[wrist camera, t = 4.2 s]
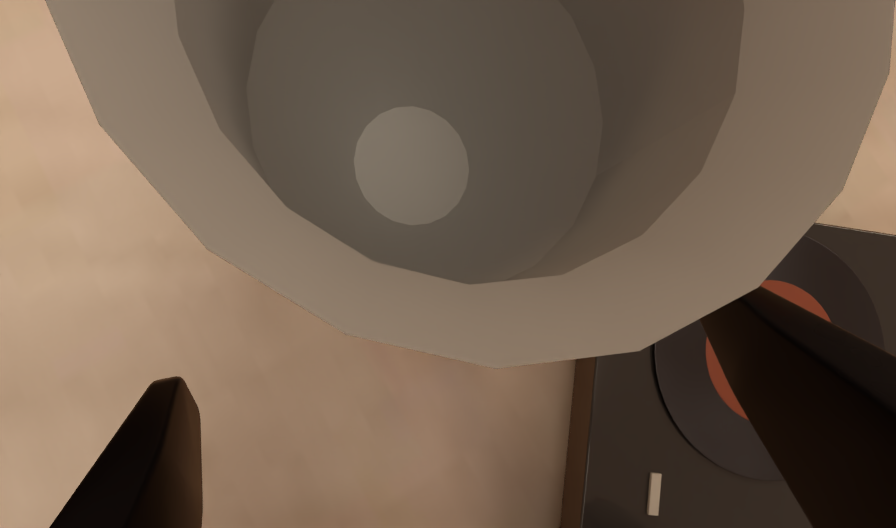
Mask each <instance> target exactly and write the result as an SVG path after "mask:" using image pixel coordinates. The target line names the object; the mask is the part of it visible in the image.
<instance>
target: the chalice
mask: <svg viewBox="0 0 896 528" xmlns="http://www.w3.org/2000/svg"><path fill="white" fill-rule="evenodd" d="M45 1H46V3H47V6H48V8H49V10H50V12H51V15H52V17H53V19H54V22H55V24H56V26H57V29H58V31H59V33H60V35H61V38H62V40H63V42H64V45H65V47H66V49H67V51H68V54H69V56H70V58H71V61H72V63H73V65H74V67H75V70H76V72H77V74H78V77H79V79H80V81H81V84H82V86H83V88H84V90H85V93H86V95H87V97H88V100H89V102H90V104H91V106H92V109H93V111H94V113H95V116H96V118H97V120H98V122H99V125H100V126H101V127H102V128H103V129H104V130H105V132H106V133H107V134H108V135H109V136H110V137H111V139H112V140H113V141H114V142H115V143H116V144H117V145H118V147H119V148H120V149H121V150H122V151H123V152H124V154H125V155H126V156H127V157H128V158H129V159H130V161H131V162H132V163H133V164H134V165H135V166H136V167H137V169H138V170H139V171H140V172H141V173H142V174H143V176H144V177H145V178H146V179H147V180H148V181H149V183H150V184H151V185H152V186H153V187H154V188H155V189H156V191H157V192H158V193H159V194H160V195H161V196H162V198H163V199H164V200H165V201H166V202H167V203H168V204H169V206H170V207H171V208H172V209H173V210H174V211H175V213H176V214H177V215H178V216H179V217H180V218H181V220H182V221H183V222H184V223H185V224H186V225H187V226H188V228H189V229H190V230H191V231H192V232H193V233H194V235H195V236H196V237H197V238H198V239H199V240H200V242H201V243H202V244H203V245H204V246H205V247H206V248H207V250H209V251H211V252H212V253H214V254H216V255H217V256H219V257H220V258H222V259H224V260H225V261H227V262H229V263H230V264H232V265H233V266H235V267H237V268H238V269H240V270H242V271H243V272H245V273H246V274H248V275H250V276H251V277H253V278H255V279H256V280H258V281H260V282H261V283H263V284H264V285H266V286H268V287H269V288H271V289H273V290H274V291H276V292H277V293H279V294H281V295H282V296H284V297H286V298H287V299H289V300H290V301H292V302H294V303H295V304H297V305H299V306H300V307H302V308H303V309H305V310H307V311H308V312H310V313H312V314H313V315H315V316H316V317H318V318H320V319H321V320H323V321H325V322H326V323H328V324H329V325H331V326H333V327H334V328H336V329H338V330H339V331H341V332H343V333H344V334H346V335H350V336H355V337H359V338H363V339H368V340H372V341H376V342H381V343H385V344H389V345H394V346H398V347H403V348H407V349H411V350H416V351H420V352H424V353H429V354H433V355H437V356H442V357H446V358H451V359H455V360H459V361H464V362H468V363H472V364H477V365H481V366H485V367H490V368H494V369H500V368H508V367H516V366H524V365H532V364H540V363H548V362H556V361H564V360H572V359H580V358H588V357H596V356H604V355H612V354H620V353H628V352H636V351H640V350H642V349H644V348H646V347H648V346H650V345H652V344H653V343H655V342H657V341H659V340H661V339H663V338H665V337H666V336H668V335H670V334H672V333H674V332H676V331H678V330H679V329H681V328H683V327H685V326H687V325H689V324H691V323H693V322H694V321H696V320H698V319H700V318H702V317H704V316H706V315H707V314H709V313H711V312H713V311H715V310H717V309H719V308H721V307H722V306H724V305H726V304H728V303H730V302H732V301H734V300H735V299H737V298H739V297H741V296H743V295H745V294H747V293H748V292H750V291H752V290H754V289H756V288H758V287H759V286H760V285H761V283H762V282H763V281H764V280H765V279H766V278H767V277H768V275H769V274H770V273H771V272H772V271H773V270H774V269H775V267H776V266H777V265H778V264H779V263H780V262H781V260H782V259H783V258H784V257H785V256H786V255H787V254H788V252H789V251H790V250H791V249H792V248H793V247H794V245H795V244H796V243H797V242H798V241H799V240H800V239H801V237H802V236H803V235H804V234H805V233H806V232H807V231H808V229H809V228H810V227H811V226H812V225H813V224H814V222H815V221H816V220H817V219H818V218H819V217H820V216H821V214H822V213H823V212H824V211H825V210H826V209H827V207H828V206H829V205H830V204H831V203H832V202H833V201H834V199H835V198H836V197H837V196H838V195H839V194H840V193H841V191H842V190H843V188H844V186H845V183H846V180H847V178H848V175H849V173H850V170H851V168H852V165H853V163H854V160H855V158H856V155H857V153H858V150H859V148H860V145H861V143H862V140H863V138H864V135H865V133H866V130H867V128H868V125H869V123H870V120H871V118H872V115H873V113H874V110H875V107H876V105H877V102H878V100H879V97H880V95H881V92H882V90H883V87H884V85H885V82H886V80H887V77H888V75H889V71H890V58H891V45H892V32H893V19H894V7H895V0H45Z"/></svg>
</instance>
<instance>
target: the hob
mask: <svg viewBox="0 0 896 528" xmlns="http://www.w3.org/2000/svg"><path fill="white" fill-rule="evenodd" d="M804 236H806V237H809V238H811V239H813V240H815V241H817V242H819V243H821V244H822V245H824V246H825V247H827V248H828V249H830V250H831V251H833V252H834V253H835V254H837V255H838V256H839V257H840V258H841V259H842V260H843V261H844V262H845V263H846V264H847V265H848V266H849V267H850V268H851V269H852V270H853V272H854V273H855V274H856V275H857V276H858V278H859V279H860V281H861V282H862V284H863V285H864V287H865V288H866V290H867V292H868V294H869V296H870V298H871V300H872V302H873V304H874V306H875V309H876V312H877V314H878V317H879V321H880V325H881V329H882V333H883V340H884V347H885V351H887V352H889V353H891V354H893V355H895V356H896V235H892V234H886V233H879V232H873V231H866V230H860V229H853V228H846V227H840V226H833V225H827V224H820V223H814V224H813V225H812V226H811V227H810V228H809V229H808V231H807V232H806V233H805V234H804ZM652 347H653V344H652V345H650V346H648V347H646V348H644V349H642V350H640V351H636V352H628V353H620V354H612V355H604V356H596V357H588V358H580V359H576V367H575V378H574V388H573V398H572V409H571V419H570V429H569V440H568V450H567V461H566V471H565V481H564V492H563V502H562V512H561V523H560V528H813V527H812V525H811V524H810V522H809V520H808V519H807V517H806V515H805V514H804V512H803V510H802V509H801V507H800V505H799V504H798V502H797V500H796V499H795V497H794V495H793V493H792V492H791V490H790V488H789V487H788V485H787V483H786V482H785V480H783V481H763V480H757V479H751V478H747V477H744V476H741V475H738V474H734V473H732V472H730V471H728V470H726V469H724V468H722V467H719V466H717V465H716V464H714V463H713V462H711V461H710V460H708V459H707V458H705V457H704V456H703V455H701V454H700V453H699V452H698V451H697V450H696V449H695V448H693V447H692V446H691V445H690V443H689V442H688V441H687V440H686V439H685V438H684V437H683V436H682V434H681V433H680V432H679V430H678V429H677V427H676V426H675V424H674V423H673V421H672V420H671V418H670V416H669V414H668V412H667V410H666V408H665V406H664V404H663V401H662V399H661V396H660V393H659V390H658V387H657V383H656V378H655V374H654V367H653V357H652Z"/></svg>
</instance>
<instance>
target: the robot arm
mask: <svg viewBox="0 0 896 528" xmlns="http://www.w3.org/2000/svg"><path fill="white" fill-rule="evenodd" d="M700 322H701V324H702V327H703V329H704V331H705V333H706V335H707V338H708V340H709V342H710V344H711V346H712V349H713V351H714V353H715V355H716V357H717V359H718V362H719V364H720V366H721V368H722V370H723V373H724V375H725V377H726V379H727V381H728V383H729V385H730V387H731V389H732V391H733V393H734V395H735V397H736V399H737V401H738V402H739V404H740V406H741V408H742V409H743V411H744V413H745V414H746V416H747V418H748V419H749V421H750V423H751V424H752V426H753V428H754V429H755V431H756V433H757V435H758V436H759V438H760V440H761V441H762V443H763V445H764V446H765V448H766V450H767V451H768V453H769V455H770V456H771V458H772V460H773V461H774V463H775V465H776V467H777V468H778V470H779V472H780V473H781V475H782V477H783V478H784V480H785V482H786V483H787V485H788V487H789V488H790V490H791V492H792V493H793V495H794V497H795V499H796V500H797V502H798V504H799V505H800V507H801V509H802V510H803V512H804V514H805V515H806V517H807V519H808V520H809V522H810V524H811V525H812V527H813V528H896V356H895V355H893V354H891V353H889V352H887V351H885V350H883V349H881V348H879V347H877V346H875V345H873V344H871V343H870V342H868V341H866V340H864V339H862V338H860V337H858V336H856V335H854V334H852V333H850V332H848V331H846V330H845V329H843V328H841V327H839V326H837V325H835V324H833V323H831V322H829V321H827V320H825V319H823V318H822V317H820V316H818V315H816V314H814V313H812V312H810V311H808V310H806V309H804V308H802V307H800V306H798V305H797V304H795V303H793V302H791V301H789V300H787V299H785V298H783V297H781V296H779V295H777V294H775V293H773V292H772V291H770V290H768V289H766V288H764V287H762V286H759V287H758V288H756V289H754V290H752V291H750V292H748V293H747V294H745V295H743V296H741V297H739V298H737V299H735V300H734V301H732V302H730V303H728V304H726V305H724V306H722V307H721V308H719V309H717V310H715V311H713V312H711V313H709V314H707V315H706V316H704V317H702V318H700ZM202 512H203V495H202V459H201V422H200V414H199V409H198V407H197V404H196V402H195V400H194V398H193V396H192V395H191V393H190V391H189V389H188V387H187V385H186V383H185V381H184V380H183V379H182V378H181V377H177V376H176V377H171V378H165V379H160V380H156V381H154V382H153V383H151V384H150V386H149V387H148V388H147V390H146V391H145V392H144V394H143V395H142V397H141V398H140V400H139V401H138V402H137V404H136V405H135V407H134V408H133V410H132V411H131V412H130V414H129V415H128V417H127V418H126V419H125V421H124V422H123V424H122V425H121V427H120V428H119V429H118V431H117V432H116V434H115V435H114V437H113V438H112V439H111V441H110V442H109V444H108V445H107V446H106V448H105V449H104V451H103V452H102V454H101V455H100V456H99V458H98V459H97V461H96V462H95V464H94V465H93V466H92V468H91V469H90V471H89V472H88V473H87V475H86V476H85V478H84V479H83V481H82V482H81V483H80V485H79V486H78V488H77V489H76V491H75V492H74V493H73V495H72V496H71V498H70V499H69V500H68V502H67V503H66V505H65V506H64V508H63V509H62V510H61V512H60V513H59V515H58V516H57V517H56V519H55V520H54V522H53V523H52V525H51V526H50V527H49V528H201V527H202Z"/></svg>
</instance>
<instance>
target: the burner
mask: <svg viewBox="0 0 896 528" xmlns="http://www.w3.org/2000/svg"><path fill="white" fill-rule="evenodd" d="M760 286H762V287H764V288H766V289H768V290H770V291H772V292H773V293H775V294H777V295H779V296H781V297H783V298H785V299H787V300H789V301H791V302H793V303H795V304H797V305H798V306H800V307H802V308H804V309H806V310H808V311H810V312H812V313H814V314H816V315H818V316H820V317H822V318H823V319H825V320H827V321H829V322H831V323H833V324H835V325H837V326H839V327H841V328H843V329H845V330H846V331H848V332H850V333H852V334H854V335H856V336H858V337H860V338H862V339H864V340H866V341H868V342H870V343H871V344H873V345H875V346H877V347H879V348H881V349H883V350H885V347H884V340H883V333H882V329H881V325H880V321H879V317H878V314H877V312H876V309H875V306H874V304H873V302H872V300H871V298H870V296H869V294H868V292H867V290H866V288H865V287H864V285H863V284H862V282H861V281H860V279H859V278H858V276H857V275H856V274H855V273H854V272H853V270H852V269H851V268H850V267H849V266H848V265H847V264H846V263H845V262H844V261H843V260H842V259H841V258H840V257H839V256H838V255H837V254H835V253H834V252H833V251H831V250H830V249H828V248H827V247H825V246H824V245H822V244H821V243H819V242H817V241H815V240H813V239H811V238H809V237H806V236H804V235H803V236H802V237H801V239H800V240H799V241H798V242H797V243H796V244H795V245H794V247H793V248H792V249H791V250H790V251H789V252H788V254H787V255H786V256H785V257H784V258H783V259H782V260H781V262H780V263H779V264H778V265H777V266H776V267H775V269H774V270H773V271H772V272H771V273H770V274H769V275H768V277H767V278H766V279H765V280H764V281H763V282H762V283H761V285H760ZM652 357H653V367H654V374H655V378H656V383H657V387H658V390H659V393H660V396H661V399H662V401H663V404H664V406H665V408H666V410H667V412H668V414H669V416H670V418H671V420H672V421H673V423H674V424H675V426H676V427H677V429H678V430H679V432H680V433H681V434H682V436H683V437H684V438H685V439H686V440H687V441H688V442H689V443H690V445H691V446H692V447H693V448H695V449H696V450H697V451H698V452H699V453H700V454H701V455H703V456H704V457H705V458H707V459H708V460H710V461H711V462H713V463H714V464H716V465H717V466H719V467H722V468H724V469H726V470H728V471H730V472H732V473H734V474H738V475H741V476H744V477H747V478H751V479H757V480H763V481H783V480H784V478H783V477H782V475H781V473H780V472H779V470H778V468H777V467H776V465H775V463H774V461H773V460H772V458H771V456H770V455H769V453H768V451H767V450H766V448H765V446H764V445H763V443H762V441H761V440H760V438H759V436H758V435H757V433H756V431H755V429H754V428H753V426H752V424H751V423H750V421H749V419H748V418H747V416H746V414H745V413H744V411H743V409H742V408H741V406H740V404H739V402H738V401H737V399H736V397H735V395H734V393H733V391H732V389H731V387H730V385H729V383H728V381H727V379H726V377H725V375H724V373H723V370H722V368H721V366H720V364H719V362H718V359H717V357H716V355H715V353H714V351H713V349H712V346H711V344H710V342H709V340H708V338H707V335H706V333H705V331H704V329H703V327H702V324H701V322H700V319H698V320H696V321H694V322H693V323H691V324H689V325H687V326H685V327H683V328H681V329H679V330H678V331H676V332H674V333H672V334H670V335H668V336H666V337H665V338H663V339H661V340H659V341H657V342H655V343H653V347H652Z"/></svg>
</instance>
